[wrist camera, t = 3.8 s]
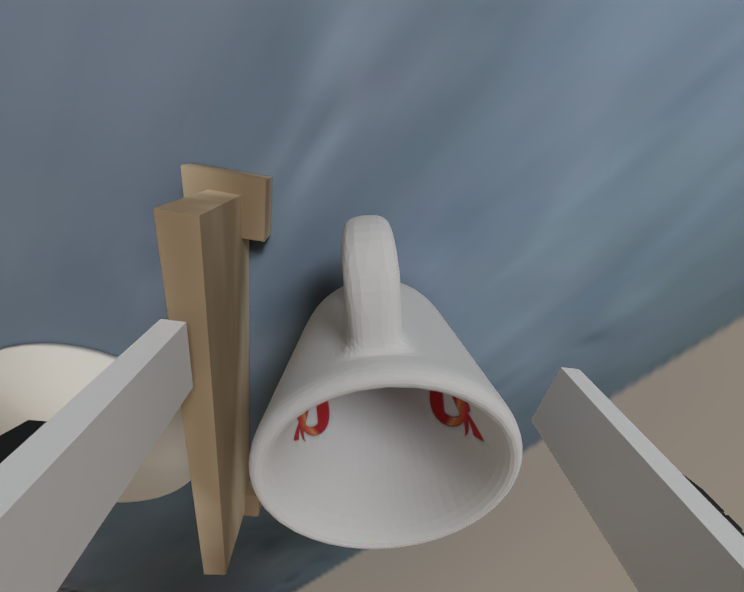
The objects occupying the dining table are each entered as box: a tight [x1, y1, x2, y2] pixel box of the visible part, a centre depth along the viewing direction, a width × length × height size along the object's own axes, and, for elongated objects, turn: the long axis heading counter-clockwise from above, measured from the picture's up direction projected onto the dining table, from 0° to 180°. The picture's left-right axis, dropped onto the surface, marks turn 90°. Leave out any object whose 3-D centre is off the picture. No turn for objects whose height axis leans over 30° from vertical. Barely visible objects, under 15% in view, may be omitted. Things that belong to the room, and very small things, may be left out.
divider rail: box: [153, 163, 272, 575], centre depth 15 cm, size 3×22×4 cm, turn 170°
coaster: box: [0, 343, 191, 502], centre depth 18 cm, size 13×13×1 cm
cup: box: [249, 215, 522, 549], centre depth 12 cm, size 11×8×8 cm
